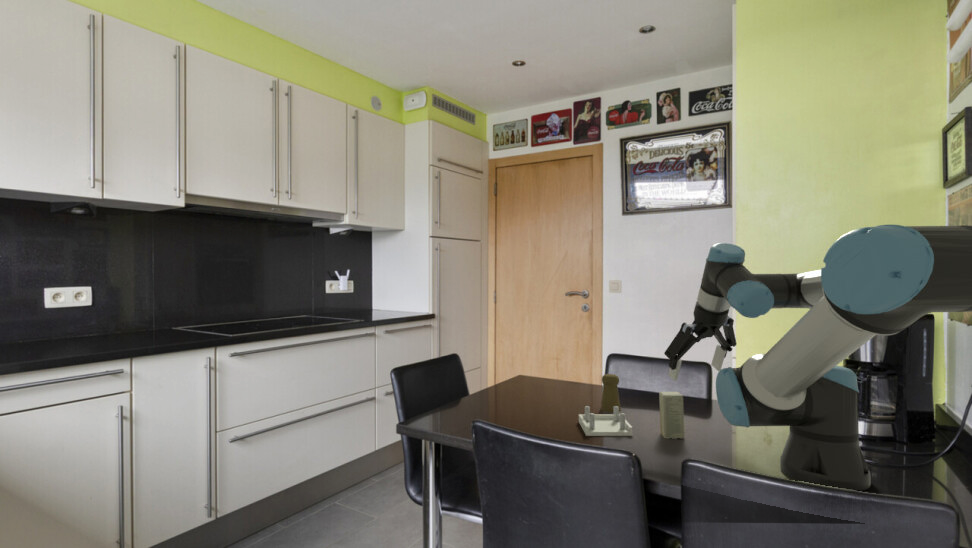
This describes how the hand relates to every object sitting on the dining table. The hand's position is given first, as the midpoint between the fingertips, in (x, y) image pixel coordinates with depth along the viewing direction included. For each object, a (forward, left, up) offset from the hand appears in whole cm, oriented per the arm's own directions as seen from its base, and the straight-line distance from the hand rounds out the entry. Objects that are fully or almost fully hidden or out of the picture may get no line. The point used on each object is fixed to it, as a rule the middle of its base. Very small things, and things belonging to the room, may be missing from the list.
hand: (694, 372), depth 127 cm
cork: (+22, +17, -16) cm, 32 cm away
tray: (+3, +23, -16) cm, 28 cm away
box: (-3, +7, -16) cm, 18 cm away
